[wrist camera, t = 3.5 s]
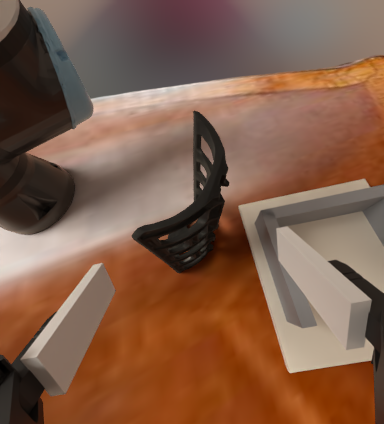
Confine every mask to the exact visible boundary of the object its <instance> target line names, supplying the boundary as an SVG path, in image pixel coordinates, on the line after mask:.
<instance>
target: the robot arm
mask: <svg viewBox="0 0 384 424" xmlns="http://www.w3.org/2000/svg"><path fill="white" fill-rule="evenodd" d="M92 113H93V104H92V102H91V99H90V97H89V95H88V93H87V91H86V89H85V87H84V85H83V83H82V81H81V79H80V77H79V76H78V74H77V72H76V70H75V68H74V66H73V64H72V62H71V60H70V59H69V57H68V56H67V53H66V51H65V50H64V47H63V45H62V43H61V41H60V39H59V38H58V36H57V34H56V32H55V30H54V28H53V26H52V25H51V23H50V21H49V19H48V18H47V16H46V14H45V13H44V12H43V11H42V10H41V9H39V8H32V7H29V8H28V11H27V10H26V9H25V7H24V6H23V5H22V3H21V1H20V0H0V227H2V228H3V229H6V230H8V231H11V232H15V233H18V234H34V233H37V232H40V231H42V230H44V229H46V228H48V227H50V226H51V225H53V224H54V223H55V222H56V221H58V220H59V219H60V218H61V217H62V215H63V214H64V213H65V212H66V210H67V209H68V207H69V206H70V204H71V202H72V199H73V196H74V191H75V185H74V181H73V178H72V176H71V175H70V174H69V173H68V172H67V171H65V170H64V169H63V168H61V167H60V166H58V165H57V164H54V163H51V162H48V161H46V160H44V159H41V158H38V157H36V156H33V155H31V154H28V153H26V152H27V151H29V150H31V149H33V148H35V147H37V146H39V145H41V144H43V143H45V142H46V141H48V140H50V139H52V138H54V137H56V136H58V135H60V134H62V133H64V132H66V131H68V130H70V129H75V128H76V126H77V125H78V124H80V123H82V122H83V121H85V120H87V119H89V118H90V117H91V116H92ZM276 230H277V246H278V260H279V261H280V263H281V264H282V265H283V267H284V268H285V269H286V271H287V272H288V273H289V275H290V276H291V277H292V279H293V280H294V281H295V283H296V284H297V285H298V287H299V288H300V289H301V291H302V292H303V293H304V295H305V296H306V297H307V299H308V300H309V301H310V303H311V304H312V305H313V307H314V308H315V309H316V311H317V312H318V313H319V315H320V316H321V317H322V319H323V320H324V321H325V323H326V324H327V325H328V327H329V328H330V329H331V331H332V332H333V333H334V335H335V336H336V337H337V339H338V340H339V341H340V343H341V344H342V345H343V347H344V348H345V349H346V350H350V349H357V348H363V347H364V345H365V339H367V340H368V341H369V342H370V343H371V344H372V345H373V347H374V350H373V355H372V360H371V363H372V364H374V393H375V423H376V424H384V293H383V292H381V291H380V290H379V289H378V288H376V287H375V286H374V285H373V284H371V283H370V282H369V281H367V280H366V279H364V278H363V277H362V276H361V275H360V274H358V273H356V271H355V270H353V269H352V268H351V267H350V266H348V265H347V264H345V263H342V262H340V261H338V260H331V261H327V260H325V259H324V258H323V257H322V256H321V255H320V254H318V253H317V252H316V251H315V250H314V249H313V248H312V247H310V246H309V245H308V244H307V243H306V242H305V241H304V240H302V239H301V238H300V237H299V236H298V235H297V234H295V233H294V232H293V231H292V230H291V229H290V228H289V227H287V226H286V227H281V228H276ZM115 291H116V290H115V288H114V286H113V284H112V282H111V279H110V277H109V275H108V273H107V271H106V269H105V267H104V264H103V263H100V264H95V265H93V266H92V267H91V269H90V270H89V271H88V272H87V274H86V275H85V276H84V278H83V279H82V280H81V282H80V283H79V284H78V285H77V287H76V288H75V289H74V291H73V292H72V293H71V295H70V296H69V297H68V298H67V300H66V301H65V302H64V304H63V305H62V306H61V307H60V309H59V310H58V311H57V312H55V313H54V314H53V315H52V316H51V317H50V318H48V319H47V320H46V322H45V323H44V324H43V325H42V327H41V328H40V330H39V331H38V332H37V333H36V334H35V335H34V338H32V339H31V340H30V342H29V343H28V344H27V345H26V347H25V348H24V349H23V350H22V352H21V353H20V354H19V356H18V357H17V358H16V359H15V361H14V362H13V363H12V364H10V363H9V361H8V360H7V359H6V358H5V357H4V356H3V355H0V424H44V417H43V402H42V399H41V398H40V396H41V394H42V393H43V391H44V389H45V390H46V391H47V392H48V394H49V395H50V396H55V395H61V394H66V392H67V390H68V388H69V386H70V384H71V381H72V379H73V377H74V375H75V373H76V371H77V369H78V367H79V365H80V363H81V361H82V359H83V357H84V355H85V353H86V351H87V349H88V347H89V345H90V343H91V341H92V338H93V336H94V334H95V332H96V330H97V328H98V326H99V324H100V322H101V320H102V318H103V316H104V314H105V312H106V310H107V308H108V306H109V304H110V302H111V300H112V297H113V295H114V293H115Z"/></svg>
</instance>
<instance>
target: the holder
mask: <svg viewBox="0 0 384 424" xmlns="http://www.w3.org/2000/svg"><path fill="white" fill-rule="evenodd" d="M193 114H194V137H193V164H194V202H193V203H192V204H191V205H190V206H189V207H187V208H186V209H185V210H183V211H182V212H180V213H179V214H177V215H175V216H173V217H171V218H169V219H166V220H163V221H160V222H157V223H154V224H149V225H144V226H142V227H140V228H138V229H137V230H136V231H135V232H134V233H133V235H132V238H133V239H134V240H135V241H137V242H138V243H139V244H141V245H142V246H144V247H145V248H146V249H148V250H149V251H150V252H152V253H153V254H155V255H156V256H157V257H159V258H160V259H161V260H163V261H164V262H165V263H166V264H168V265H169V266H170V267H171V268H173V269H174V270H175V271H176V272H177V273H181V272H182V271H184V270H186V269H189V268H191V267H193V266H195V265H196V264H197V263H199V262H200V261H201V260H202V259H203V258H204V257H205V256H206V255H207V253H208V252H209V251H211V250H213V245H212V244H211V241H213V242H214V240H215V237H216V236H215V234H214V233H213V231H214V230H215V229H217V228H218V226H219V224H218V223H219V219H220V216H221V213H222V209H223V206H224V202H225V201H224V199H223V197H222V195H221V193H220V192H221V188H220V187H221V186H227V187H228V186H229V181H227V179H226V174H227V171H228V167H227V164H226V160H225V151H224V147H223V145H222V143H221V140H220V138H219V136H218V134H217V132H216V131H215V129H214V128H213V126H212V125H211V124H210V123H209V121H208V120H207V119H206V118H205V117H204V116H203V115H202V114H200V113H199V112H197V111H193ZM201 136H202V137H203V138H204V140H205V141H206V142H207V143H208V145H209V147H210V149H211V151H212V155H213V160H214V162H213V165H212V164H211V162H210V160H209V159H208V158H207V157H206V155H205V154H204V153H203V151H202V149H201ZM200 163H201V164H202V166H203V167H204V168H205V170H206V172H207V178H205V176H204V175H203V174H202V172H201V171H200ZM200 183H201V184H202V185H203V187H204V189H203V190H202V189H201V188H200ZM197 219H198V220H197ZM195 220H197V222H196V223H195V224H194V225H192V226H191V227H190V228H189V229H188V228H187V225H189V224H191V223H192V222H194V221H195ZM167 234H169V235H168V239H166V240H159V239H158V238H160V237H162V236H164V235H167ZM188 250H189V251H188ZM186 251H188V252H186ZM184 252H186V253H184ZM181 253H184V254H182V255H179V254H181ZM187 258H188V259H187ZM184 259H185V260H184ZM182 260H183V261H182Z"/></svg>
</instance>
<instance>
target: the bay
mask: <svg viewBox="0 0 384 424" xmlns="http://www.w3.org/2000/svg"><path fill="white" fill-rule="evenodd" d="M238 208H239V212H240V215H241V218H242V222H243V225H244V228H245V231H246V235H247V238H248V241H249V245H250V248H251V251H252V255H253V258H254V261H255V265H256V268H257V271H258V275H259V278H260V281H261V285H262V288H263V291H264V294H265V298H266V301H267V304H268V308H269V311H270V314H271V318H272V321H273V324H274V328H275V331H276V334H277V338H278V341H279V344H280V348H281V351H282V354H283V357H284V361H285V364H286V367H287V370H288V371H289V372H290V373H293V372H300V371H306V370H313V369H319V368H326V367H332V366H339V365H345V364H351V363H358V362H364V361H371V360H372V355H373V350H374V347H373V345H372V344H371V343H370V342H369V341H368V340H367V339H365V345H364V347H363V348H357V349H350V350H346V349H345V348H344V347H343V345H342V344H341V343H340V341H339V340H338V339H337V337H336V336H335V335H334V333H333V332H332V331H331V329H330V328H329V327H328V325H327V324H326V323H325V321H324V320H323V319H322V317H321V316H320V315H319V313H318V312H317V311H316V309H315V308H314V307H313V305H312V304H311V303H310V301H309V300H308V299H307V297H306V296H305V295H304V293H303V292H302V291H301V289H300V288H299V287H298V285H297V284H296V283H295V281H294V280H293V279H292V277H291V276H290V275H289V273H288V272H287V271H286V269H285V268H284V267H283V265H282V264H281V263H280V261H279V260H278V246H277V230H276V228H281V227H286V226H287V227H289V228H290V229H291V230H292V231H293V232H294V233H295V234H297V235H298V236H299V237H300V238H301V239H302V240H304V241H305V242H306V243H307V244H308V245H309V246H310V247H312V248H313V249H314V250H315V251H316V252H317V253H318V254H320V255H321V256H322V257H323V258H324V259H325V260H327V261H331V260H338V261H340V262H342V263H345V264H347V265H348V266H350V267H351V268H352V269H353V270H355V271H356V273H358V274H360V275H361V276H362V277H363V278H364V279H366V280H367V281H369V282H370V283H371V284H373V285H374V286H375V287H376V288H378V289H379V290H380V291H381V292H383V293H384V185H379V186H375V187H370V186H369V184H368V183H367V181H366V180H365V179H361V180H356V181H352V182H347V183H342V184H338V185H333V186H328V187H323V188H319V189H314V190H309V191H305V192H300V193H295V194H290V195H286V196H281V197H276V198H272V199H267V200H262V201H258V202H253V203H248V204H243V205H239V207H238Z"/></svg>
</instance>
